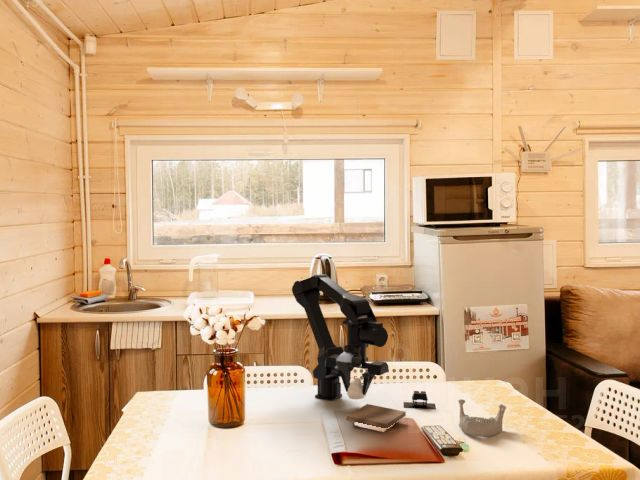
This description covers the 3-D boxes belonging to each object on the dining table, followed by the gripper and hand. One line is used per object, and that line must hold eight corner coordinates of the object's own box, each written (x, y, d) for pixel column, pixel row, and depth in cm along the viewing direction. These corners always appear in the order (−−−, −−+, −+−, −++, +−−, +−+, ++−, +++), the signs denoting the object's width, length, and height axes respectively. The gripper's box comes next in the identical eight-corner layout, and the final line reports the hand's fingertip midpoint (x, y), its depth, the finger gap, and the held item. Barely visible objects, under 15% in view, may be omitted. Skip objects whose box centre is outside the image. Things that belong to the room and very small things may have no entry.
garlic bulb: (369, 377, 183) (356, 380, 179) (369, 397, 183) (356, 401, 179) (356, 373, 187) (343, 377, 183) (356, 393, 187) (343, 396, 183)
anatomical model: (450, 432, 160) (453, 393, 163) (456, 436, 169) (458, 399, 173) (502, 439, 155) (504, 398, 159) (505, 442, 165) (506, 404, 168)
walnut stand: (346, 426, 167) (346, 415, 167) (367, 414, 177) (367, 403, 177) (386, 435, 160) (386, 424, 160) (405, 422, 170) (405, 411, 170)
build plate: (439, 404, 188) (440, 390, 188) (441, 412, 181) (441, 397, 180) (398, 402, 189) (399, 388, 189) (398, 410, 182) (399, 395, 182)
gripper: (315, 342, 181) (315, 394, 181) (371, 350, 171) (371, 405, 171) (334, 335, 190) (334, 385, 191) (389, 343, 180) (388, 395, 181)
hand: (356, 393), depth 183 cm, fingers closed on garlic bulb, 5 cm apart
